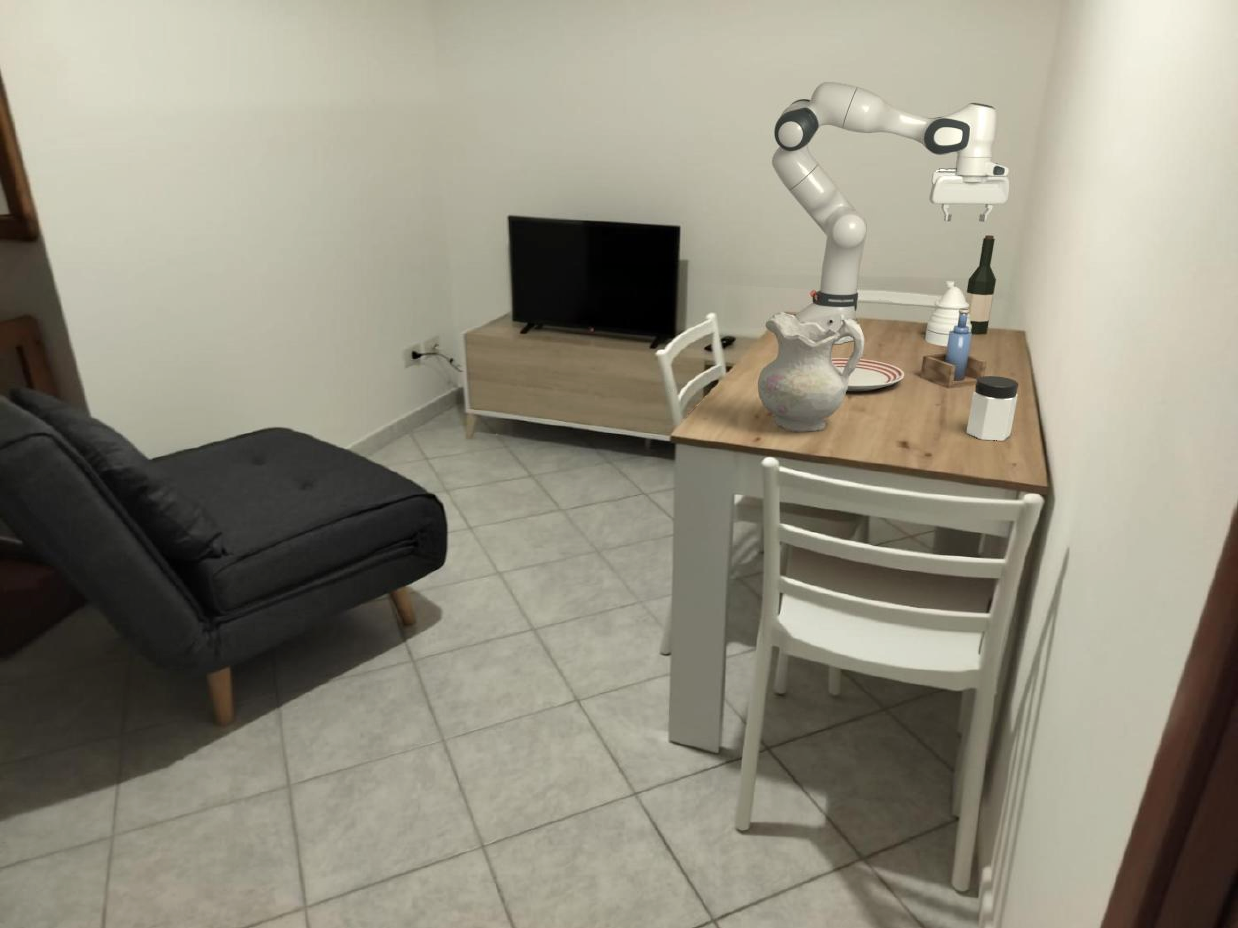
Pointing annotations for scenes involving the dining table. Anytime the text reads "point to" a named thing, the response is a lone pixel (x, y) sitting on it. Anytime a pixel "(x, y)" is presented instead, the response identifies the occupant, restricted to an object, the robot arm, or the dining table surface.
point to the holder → (950, 371)
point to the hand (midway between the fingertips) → (964, 221)
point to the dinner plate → (869, 374)
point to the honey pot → (946, 315)
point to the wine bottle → (981, 289)
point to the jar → (992, 408)
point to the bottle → (959, 346)
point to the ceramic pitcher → (806, 372)
